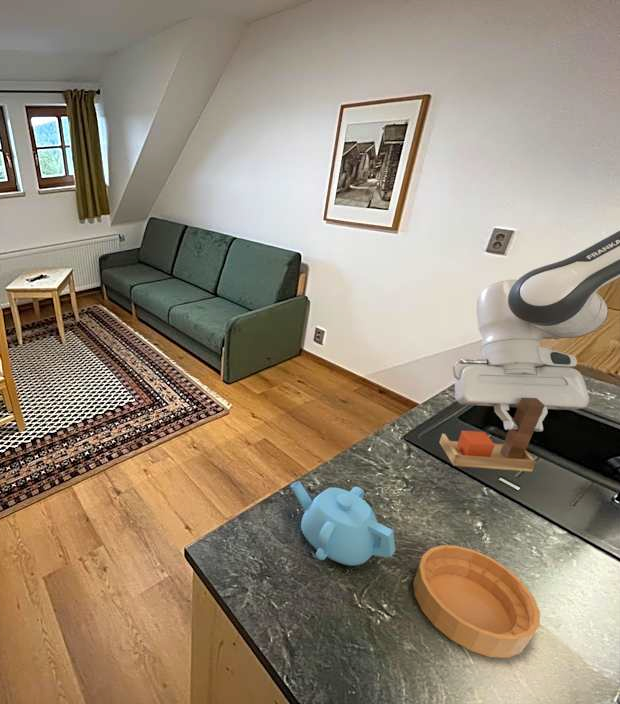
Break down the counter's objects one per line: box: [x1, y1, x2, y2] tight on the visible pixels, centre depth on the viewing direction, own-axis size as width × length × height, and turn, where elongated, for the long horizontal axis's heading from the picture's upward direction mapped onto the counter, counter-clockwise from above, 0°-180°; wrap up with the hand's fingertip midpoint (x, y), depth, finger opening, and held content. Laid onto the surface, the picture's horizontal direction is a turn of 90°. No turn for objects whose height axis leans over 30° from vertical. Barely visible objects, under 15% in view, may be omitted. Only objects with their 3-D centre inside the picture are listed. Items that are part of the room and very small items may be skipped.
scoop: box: [438, 398, 545, 472], centre depth 77 cm, size 7×13×14 cm, turn 77°
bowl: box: [412, 544, 541, 659], centre depth 65 cm, size 15×15×6 cm
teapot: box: [290, 481, 396, 567], centre depth 77 cm, size 20×17×12 cm
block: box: [457, 430, 496, 457], centre depth 79 cm, size 4×4×4 cm
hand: (523, 430), depth 75 cm, fingers closed on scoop, 2 cm apart
